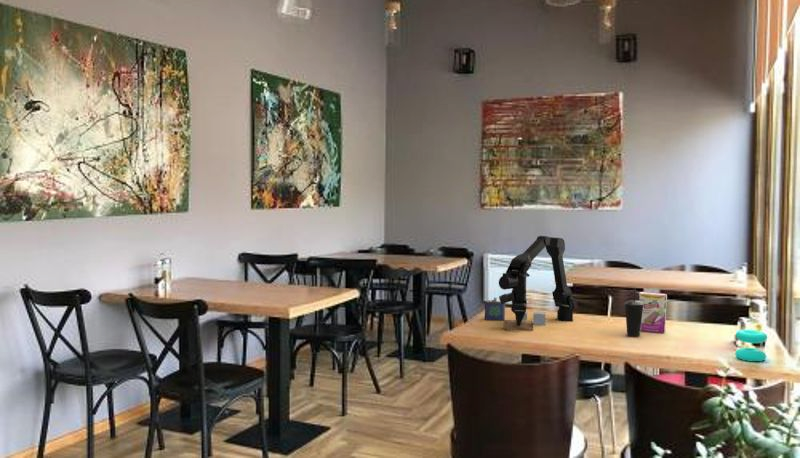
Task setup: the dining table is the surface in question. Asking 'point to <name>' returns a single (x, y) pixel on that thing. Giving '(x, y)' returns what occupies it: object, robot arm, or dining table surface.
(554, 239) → the robot arm
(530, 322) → the lintel
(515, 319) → the tilted pale grey prism
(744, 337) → the teal stacked rounded discs
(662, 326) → the candy bar box
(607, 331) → the dining table surface
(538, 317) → the pillar
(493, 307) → the flask
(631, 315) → the drinking cup
